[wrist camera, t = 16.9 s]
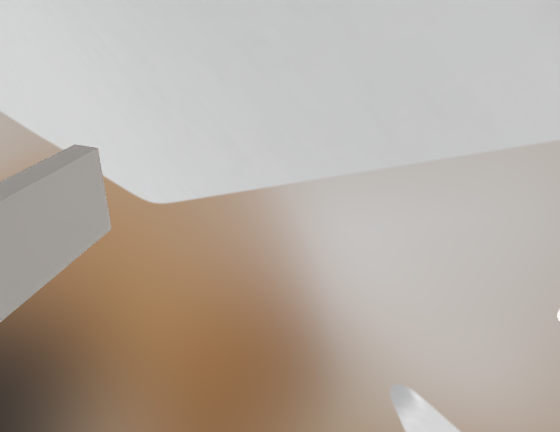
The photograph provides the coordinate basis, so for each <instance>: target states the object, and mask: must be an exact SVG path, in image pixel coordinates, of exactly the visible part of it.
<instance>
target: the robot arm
mask: <svg viewBox="0 0 560 432" xmlns="http://www.w3.org/2000/svg"><path fill="white" fill-rule="evenodd" d="M110 230H111V223H110V218H109V211H108V206H107V200H106V194H105V188H104V182H103V176H102V170H101V164H100V158H99V152H98V148H94V147H87V146H81V145H73V146H71V147H69V148H67V149H65V150H63V151H61V152H59V153H57V154H55V155H53V156H51V157H49V158H47V159H45V160H43V161H41V162H39V163H37V164H35V165H33V166H31V167H29V168H27V169H25V170H23V171H21V172H19V173H17V174H15V175H13V176H11V177H9V178H7V179H5V180H3V181H1V182H0V322H1V321H2V320H3V319H5V318H6V317H7V316H8V315H10V314H11V313H12V312H13V311H14V310H15V309H17V308H18V307H19V306H20V305H21V304H23V303H24V302H25V301H26V300H27V299H29V298H30V297H31V296H32V295H33V294H35V293H36V292H37V291H38V290H39V289H40V288H41V287H43V286H44V285H45V284H46V283H48V282H49V281H50V280H51V279H52V278H54V277H55V276H56V275H57V274H58V273H60V272H61V271H62V270H63V269H64V268H66V267H67V266H68V265H69V264H70V263H72V262H73V261H74V260H75V259H76V258H77V257H79V256H80V255H81V254H82V253H83V252H85V251H86V250H87V249H88V248H89V247H91V246H92V245H93V244H94V243H95V242H97V241H98V240H99V239H100V238H101V237H102V236H103V235H105V234H106V233H107V232H108V231H110ZM557 317H558V319H559V322H560V309H559V312H558V314H557Z"/></svg>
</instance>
